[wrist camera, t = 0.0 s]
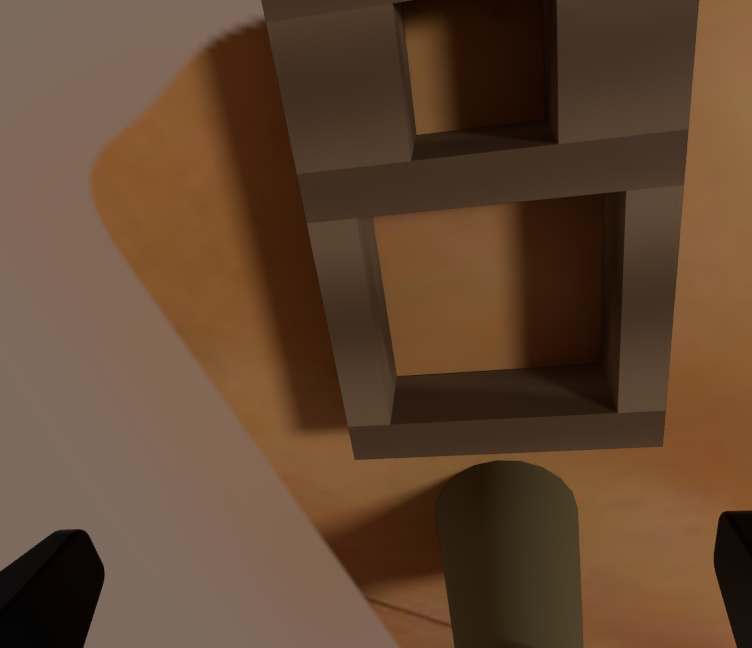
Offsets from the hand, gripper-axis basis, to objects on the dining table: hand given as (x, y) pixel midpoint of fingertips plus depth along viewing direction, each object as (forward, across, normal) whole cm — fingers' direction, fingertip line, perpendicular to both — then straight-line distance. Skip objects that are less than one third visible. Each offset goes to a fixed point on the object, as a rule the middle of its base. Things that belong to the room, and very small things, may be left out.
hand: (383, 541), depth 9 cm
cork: (+15, -2, +14) cm, 21 cm away
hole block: (+15, -2, 0) cm, 15 cm away
